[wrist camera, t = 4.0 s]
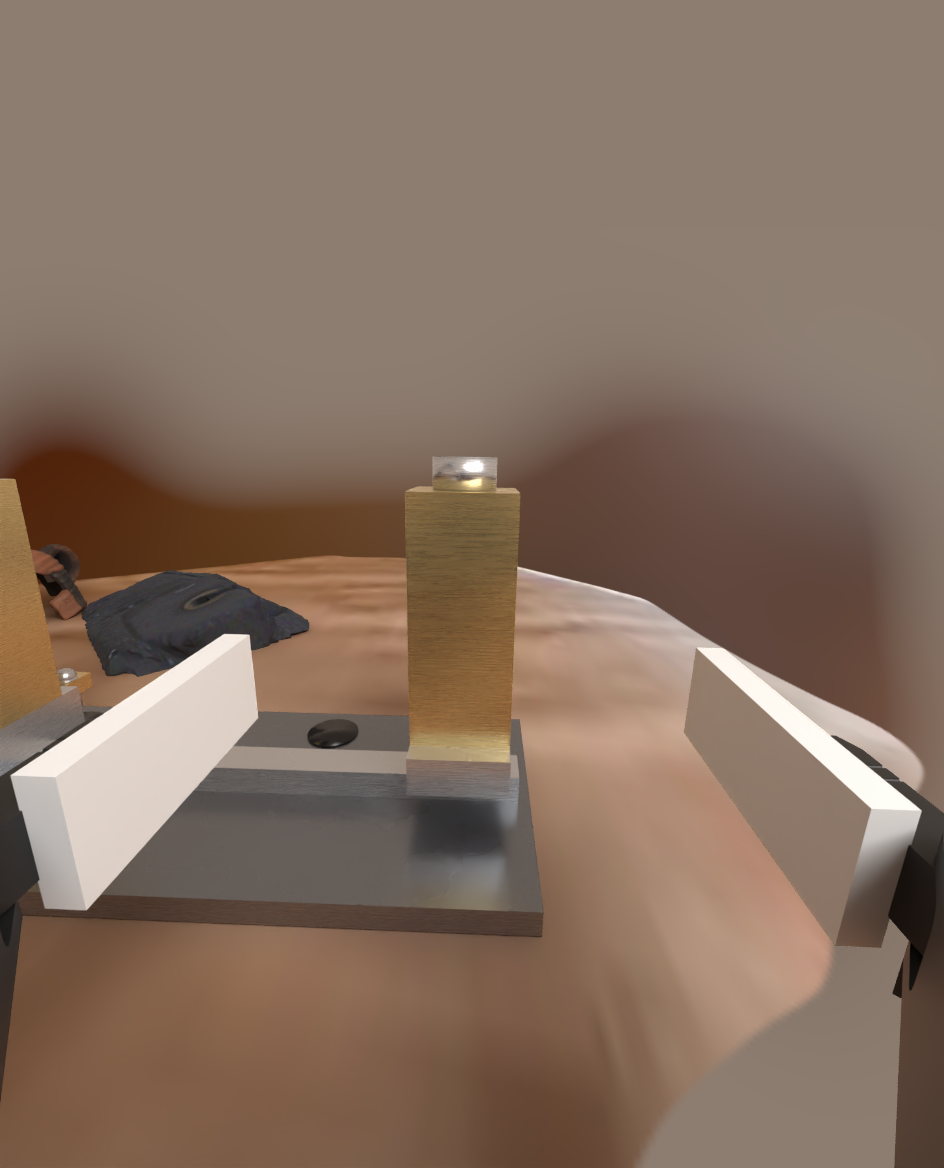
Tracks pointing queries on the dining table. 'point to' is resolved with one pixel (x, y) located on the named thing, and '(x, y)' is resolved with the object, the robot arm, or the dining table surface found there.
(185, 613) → the dark folded cloth
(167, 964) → the dining table surface
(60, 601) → the brown crumpled piece
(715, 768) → the robot arm
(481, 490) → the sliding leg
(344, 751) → the bolt plate
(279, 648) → the dining table surface
